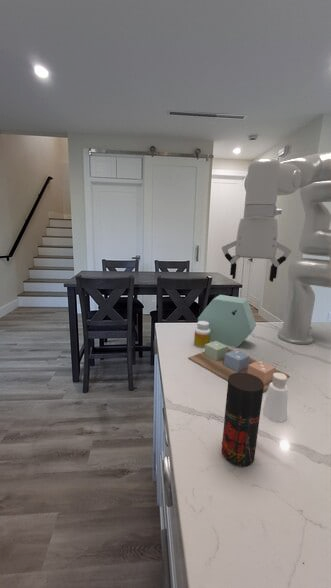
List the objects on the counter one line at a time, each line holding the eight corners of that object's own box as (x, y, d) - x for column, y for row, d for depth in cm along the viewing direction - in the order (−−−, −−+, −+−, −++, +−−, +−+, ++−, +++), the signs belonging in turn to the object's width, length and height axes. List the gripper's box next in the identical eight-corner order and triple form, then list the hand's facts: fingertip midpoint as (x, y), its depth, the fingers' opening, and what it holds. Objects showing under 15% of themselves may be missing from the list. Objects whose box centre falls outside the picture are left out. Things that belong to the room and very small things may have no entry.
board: (221, 350, 93) (222, 345, 92) (288, 381, 74) (289, 375, 74) (188, 363, 83) (188, 357, 82) (255, 402, 65) (256, 395, 64)
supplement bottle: (208, 353, 90) (210, 326, 88) (193, 351, 91) (194, 324, 89) (209, 346, 95) (211, 320, 93) (194, 344, 96) (196, 319, 94)
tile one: (214, 352, 88) (215, 340, 87) (226, 357, 84) (227, 345, 83) (204, 356, 85) (205, 343, 84) (216, 362, 81) (217, 349, 80)
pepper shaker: (265, 408, 63) (271, 366, 60) (289, 419, 59) (297, 374, 57) (256, 420, 58) (262, 375, 56) (282, 433, 55) (290, 385, 53)
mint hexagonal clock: (230, 352, 102) (266, 314, 92) (224, 360, 95) (263, 320, 86) (197, 322, 106) (229, 283, 97) (189, 328, 99) (222, 286, 90)
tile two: (234, 361, 82) (235, 349, 81) (248, 368, 78) (249, 355, 77) (223, 366, 79) (225, 353, 78) (237, 373, 75) (239, 359, 74)
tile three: (257, 372, 76) (259, 359, 75) (273, 380, 72) (275, 366, 71) (246, 378, 73) (248, 364, 72) (263, 386, 69) (265, 372, 68)
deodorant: (217, 441, 52) (223, 372, 49) (247, 440, 53) (255, 372, 49) (226, 468, 46) (234, 391, 43) (259, 466, 47) (270, 391, 44)
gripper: (293, 214, 69) (284, 279, 73) (225, 214, 74) (220, 275, 78) (299, 212, 62) (288, 284, 66) (223, 212, 67) (218, 279, 71)
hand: (252, 279), depth 72 cm, fingers open, 9 cm apart
